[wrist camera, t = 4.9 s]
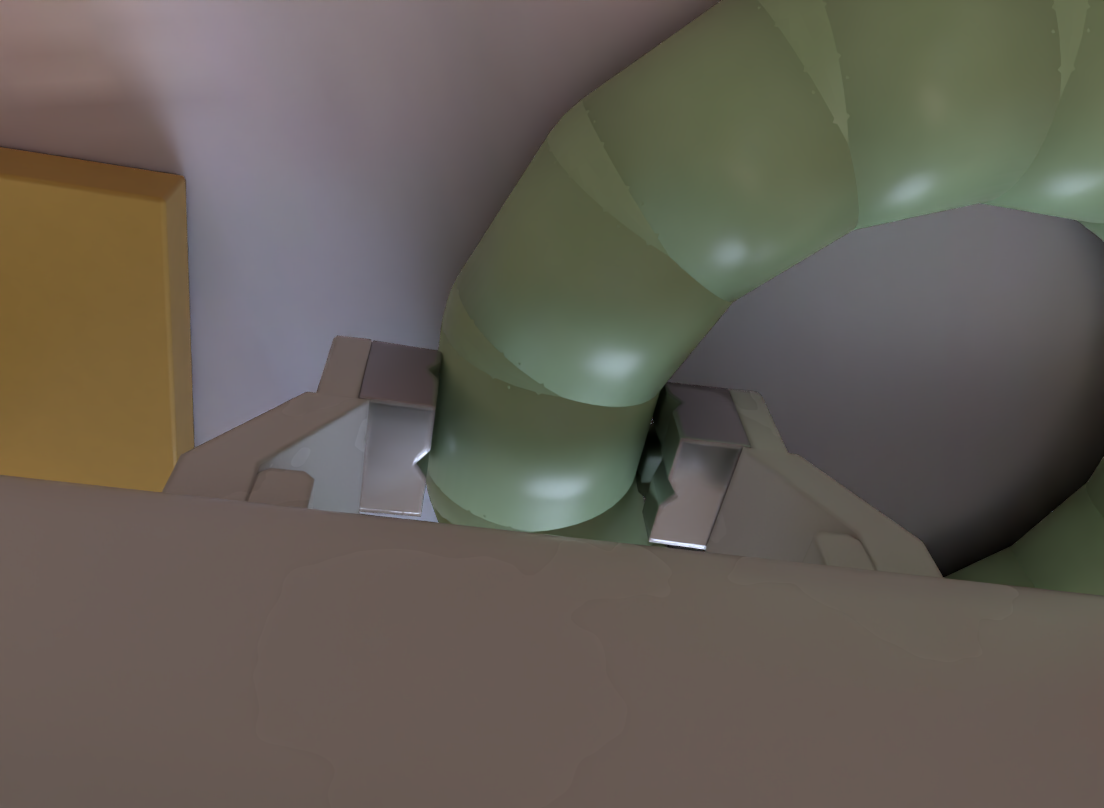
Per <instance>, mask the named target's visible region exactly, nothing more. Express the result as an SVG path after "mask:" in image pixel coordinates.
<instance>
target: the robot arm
mask: <svg viewBox="0 0 1104 808" xmlns="http://www.w3.org/2000/svg"><path fill="white" fill-rule="evenodd" d="M441 358H442V352H441V351H439V350H432V349H426V348H419V347H413V346H406V345H400V344H394V343H387V342H381V341H373V342H372V341H371V339H364V338H355V337H346V336H338V335H337V336H336V337H335V338H334V339H333V342H332V345H331V349H330V352H329V355H328V358H327V361H326V364H325V367H324V370H323V373H322V377H321V380H320V383H319V386H318V389H317V392H316V393H313V392H305V393H303V394H301V395H299V396H297V397H295V398H293V399H291V400H289V401H287V402H285V403H283V404H281V405H279V406H277V407H275V408H273V409H271V410H269V411H267V412H265V413H263V414H261V415H259V416H257V417H255V418H253V419H251V420H249V421H247V422H245V423H243V424H241V425H239V426H237V427H235V428H233V429H231V430H229V431H227V432H225V433H223V434H221V435H219V436H218V437H216V438H214V439H212V440H210V441H208V442H206V443H204V444H202V445H200V446H198V447H196V448H194V449H192V450H190V451H188V452H186V453H184V454H182V455H181V456H180V457H179V459H178V461H177V463H176V465H175V467H174V469H173V471H172V473H171V475H170V477H169V479H168V481H167V483H166V485H165V487H164V489H163V491H162V492H154V491H145V490H136V489H126V488H117V487H108V486H99V485H89V484H80V483H71V482H62V481H53V480H44V479H34V478H25V477H16V476H7V475H0V808H1104V596H1103V595H1094V594H1085V593H1075V592H1066V591H1057V590H1048V589H1039V588H1030V587H1021V586H1012V585H1002V584H993V583H984V582H975V581H966V580H957V579H948V578H943V576H942V574H941V573H940V571H939V569H938V567H937V566H936V564H935V562H934V561H933V559H932V557H931V555H930V554H929V552H928V550H927V549H926V547H925V545H924V543H923V542H922V541H921V540H920V539H918V538H917V537H915V536H914V535H913V534H911V533H910V532H908V531H907V530H905V529H904V528H902V527H901V526H900V525H898V524H897V523H895V522H894V521H892V520H891V519H890V518H888V517H887V516H885V515H884V514H882V513H881V512H880V511H878V510H877V509H875V508H874V507H872V506H871V505H870V504H868V503H867V502H865V501H864V500H862V499H861V498H860V497H858V496H857V495H855V494H854V493H852V492H851V491H850V490H848V489H847V488H845V487H844V486H842V485H841V484H840V483H838V482H837V481H835V480H834V479H832V478H831V477H830V476H828V475H827V474H825V473H824V472H822V471H821V470H820V469H818V468H817V467H815V466H814V465H812V464H811V463H810V462H808V461H807V460H805V459H804V458H802V457H801V456H799V455H798V454H792V453H788V451H787V449H786V447H785V445H784V443H783V441H782V438H781V436H780V434H779V432H778V430H777V428H776V425H775V423H774V421H773V419H772V417H771V415H770V413H769V410H768V408H767V406H766V404H765V402H764V400H763V397H762V395H760V394H759V393H757V392H753V391H742V390H731V389H725V388H716V387H707V386H698V385H689V384H680V383H671V382H667V383H666V384H665V385H664V386H663V387H662V389H661V390H660V393H659V396H658V400H657V403H656V407H655V410H654V413H653V421H654V422H653V423H652V424H651V425H650V427H649V430H648V434H647V437H646V440H645V444H644V447H643V450H642V454H641V457H640V461H639V464H638V467H637V471H636V483H637V489H638V492H639V493H640V494H641V495H642V496H643V497H645V498H646V500H645V503H644V507H643V510H642V513H643V518H644V523H645V527H646V532H647V537H648V541H649V542H654V543H661V544H668V545H676V546H683V547H690V548H698V549H705V552H701V551H692V550H683V549H674V548H664V547H655V546H646V545H637V544H628V543H619V542H610V541H601V540H592V539H583V538H574V537H564V536H555V535H546V534H537V533H528V532H519V531H510V530H501V529H492V528H483V527H474V526H465V525H455V524H446V523H437V522H428V521H419V520H410V519H401V518H392V517H383V516H374V515H365V514H359V511H360V512H372V513H384V514H396V515H408V516H420V517H421V511H422V504H423V498H424V491H425V484H426V477H427V469H428V461H429V453H430V449H431V441H432V433H433V425H434V418H435V410H436V402H437V394H438V386H439V375H440V367H441Z"/></svg>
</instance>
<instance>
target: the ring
mask: <svg viewBox="0 0 1104 808" xmlns="http://www.w3.org/2000/svg"><path fill="white" fill-rule="evenodd" d="M979 203H981V204H987V205H992V206H998V207H1004V208H1010V209H1015V210H1021V211H1027V212H1032V213H1038V214H1044V215H1050V216H1055V217H1061V218H1067V219H1073V220H1077V221H1078V222H1080V223H1081V224H1082V225H1083V226H1085V227H1086V228H1087V229H1089V230H1090V231H1091V232H1092V233H1094V234H1095V235H1096V236H1098V237H1099V238H1100V239H1101V240H1103V241H1104V0H722V1H720V2H719V3H717V4H716V5H714V6H713V7H712V8H710V9H709V10H707V11H706V12H704V13H703V14H702V15H700V16H699V17H697V18H696V19H695V20H693V21H692V22H690V23H689V24H687V25H686V26H685V27H683V28H682V29H680V30H679V31H678V32H676V33H675V34H673V35H672V36H670V37H669V38H668V39H666V40H665V41H663V42H662V43H661V44H659V45H658V46H656V47H655V48H653V49H652V50H651V51H649V52H648V53H646V54H645V55H643V56H642V57H641V58H639V59H638V60H636V61H635V62H634V63H632V64H631V65H629V66H628V67H626V68H625V69H624V70H622V71H621V72H619V73H618V74H617V75H615V76H614V77H612V78H611V79H609V80H608V81H607V82H605V83H604V84H602V85H601V86H600V87H598V88H597V89H595V90H594V91H592V92H591V93H590V94H588V95H587V96H585V97H584V98H583V99H582V100H581V101H579V102H578V103H577V104H576V105H575V106H574V107H572V108H571V109H570V110H569V111H568V112H567V113H565V114H564V115H563V116H562V118H561V119H560V120H559V121H558V123H557V124H556V125H555V127H554V128H553V129H552V130H551V132H550V133H549V134H548V136H547V138H546V139H545V141H544V142H543V144H542V145H541V147H540V148H539V150H538V152H537V153H536V155H535V156H534V158H533V159H532V161H531V162H530V164H529V166H528V167H527V169H526V170H525V172H524V173H523V175H522V176H521V178H520V180H519V181H518V183H517V184H516V186H515V187H514V189H513V190H512V192H511V194H510V195H509V197H508V198H507V200H506V201H505V203H504V204H503V206H502V208H501V209H500V211H499V212H498V214H497V215H496V217H495V218H494V220H493V222H492V223H491V225H490V226H489V228H488V229H487V231H486V232H485V234H484V235H483V237H482V239H481V240H480V242H479V243H478V245H477V246H476V248H475V249H474V251H473V253H472V254H471V256H470V257H469V259H468V260H467V262H466V263H465V265H464V267H463V268H462V270H461V271H460V272H459V274H458V276H457V278H456V280H455V282H454V284H453V286H452V288H451V290H450V293H449V296H448V299H447V303H446V307H445V311H444V315H443V319H442V325H441V333H440V340H439V347H438V350H439V351H441V352H442V358H441V367H440V375H439V386H438V394H437V402H436V410H435V418H434V425H433V433H432V441H431V449H430V453H429V461H428V469H427V477H426V485H427V490H428V494H429V497H430V501H431V503H432V506H433V509H434V511H435V514H436V517H437V520H438V522H439V523H446V524H455V525H465V526H474V527H483V528H492V529H501V530H510V531H519V532H528V533H537V534H546V535H555V536H564V537H574V538H583V539H592V540H601V541H610V542H619V543H628V544H637V545H646V546H655V547H664V548H668V547H667V546H666V545H665V544H661V543H654V542H649V541H648V537H647V532H646V527H645V523H644V518H643V513H642V510H643V507H644V499H643V496H642V495H641V494H640V493H639V492H638V489H637V483H636V471H637V467H638V464H639V461H640V457H641V454H642V450H643V447H644V444H645V440H646V437H647V434H648V430H649V427H650V423H651V420H652V417H653V413H654V410H655V407H656V403H657V400H658V396H659V393H660V390H661V389H662V387H663V386H664V385H665V384H666V383H667V381H668V380H669V379H670V378H671V377H672V375H673V374H674V373H675V372H676V371H677V369H678V368H679V367H680V366H681V364H682V363H683V362H684V361H685V360H686V358H687V357H688V356H689V355H690V354H691V352H692V351H693V350H694V349H695V348H696V346H697V345H698V344H699V343H700V342H701V340H702V339H703V338H704V337H705V336H706V334H707V333H708V332H709V331H710V329H711V328H712V327H713V326H714V325H715V323H716V322H717V321H718V320H719V319H720V317H721V316H722V315H723V314H724V313H725V311H726V310H727V309H728V308H729V307H730V305H731V304H732V303H733V302H734V301H735V300H737V299H739V298H741V297H742V296H744V295H746V294H747V293H749V292H751V291H752V290H754V289H756V288H757V287H759V286H761V285H762V284H764V283H766V282H767V281H769V280H771V279H772V278H774V277H776V276H777V275H779V274H781V273H782V272H784V271H786V270H787V269H789V268H791V267H792V266H794V265H796V264H797V263H799V262H801V261H802V260H804V259H806V258H807V257H809V256H811V255H812V254H814V253H816V252H817V251H819V250H821V249H822V248H824V247H826V246H828V245H829V244H831V243H833V242H834V241H836V240H838V239H839V238H841V237H843V236H844V235H846V234H848V233H849V232H851V231H853V230H856V229H861V228H866V227H870V226H875V225H880V224H884V223H889V222H894V221H899V220H903V219H908V218H913V217H918V216H922V215H927V214H932V213H936V212H941V211H946V210H951V209H955V208H960V207H965V206H969V205H974V204H979ZM944 578H948V579H957V580H966V581H975V582H984V583H993V584H1002V585H1012V586H1021V587H1030V588H1039V589H1048V590H1057V591H1066V592H1075V593H1085V594H1094V595H1103V596H1104V457H1103V458H1102V460H1101V462H1100V463H1099V465H1098V466H1097V468H1096V469H1095V471H1094V473H1093V474H1092V476H1091V477H1090V479H1089V480H1088V482H1087V483H1085V484H1084V485H1083V486H1082V487H1081V488H1080V489H1078V490H1077V491H1076V492H1075V493H1074V494H1072V495H1071V496H1070V497H1069V498H1068V499H1067V500H1065V501H1064V502H1063V503H1062V504H1061V505H1059V506H1058V507H1057V508H1056V509H1055V510H1053V511H1052V512H1051V513H1050V514H1049V515H1048V516H1046V517H1045V518H1044V519H1043V520H1042V521H1040V522H1039V523H1038V524H1037V525H1036V526H1035V527H1033V528H1032V529H1031V530H1030V531H1029V532H1027V533H1026V534H1025V535H1024V536H1023V537H1021V538H1020V539H1019V540H1018V541H1017V542H1016V543H1014V544H1013V545H1012V546H1010V547H1008V548H1006V549H1004V550H1001V551H999V552H997V553H995V554H993V555H991V556H989V557H986V558H984V559H982V560H980V561H978V562H976V563H974V564H972V565H969V566H967V567H965V568H963V569H961V570H959V571H957V572H954V573H952V574H950V575H948V576H946V577H944Z"/></svg>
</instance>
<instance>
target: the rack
mask: <svg viewBox="0 0 1104 808" xmlns="http://www.w3.org/2000/svg"><path fill="white" fill-rule="evenodd" d="M192 449H194V428H193V398H192V367H191V337H190V306H189V276H188V245H187V215H186V184H185V178H184V177H183V176H181V175H175V174H169V173H162V172H156V171H150V170H143V169H137V168H130V167H124V166H118V165H111V164H105V163H99V162H92V161H86V160H80V159H73V158H67V157H60V156H54V155H48V154H41V153H35V152H29V151H22V150H16V149H10V148H3V147H0V475H7V476H16V477H25V478H34V479H44V480H53V481H62V482H71V483H80V484H89V485H99V486H108V487H117V488H126V489H136V490H145V491H154V492H162V491H163V489H164V487H165V485H166V483H167V481H168V479H169V477H170V475H171V473H172V471H173V469H174V467H175V465H176V463H177V461H178V459H179V457H180V456H181V455H182V454H184V453H186V452H188V451H190V450H192Z"/></svg>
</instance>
